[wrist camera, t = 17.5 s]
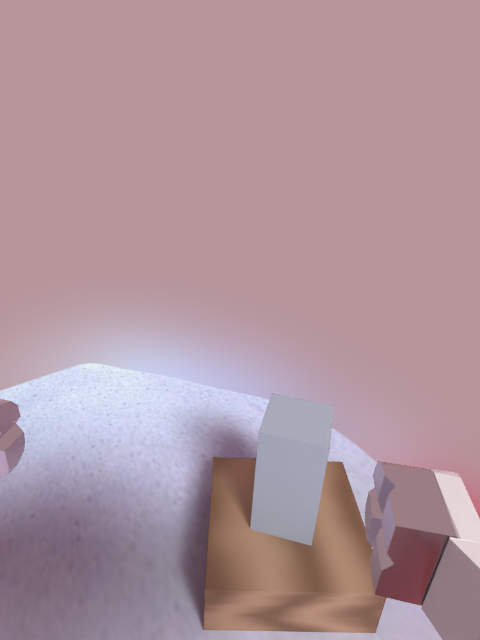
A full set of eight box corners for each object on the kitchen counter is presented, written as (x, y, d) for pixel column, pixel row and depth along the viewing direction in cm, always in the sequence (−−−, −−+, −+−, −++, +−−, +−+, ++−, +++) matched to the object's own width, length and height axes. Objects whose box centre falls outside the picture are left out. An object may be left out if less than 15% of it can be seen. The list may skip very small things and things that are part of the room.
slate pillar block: (250, 528, 33) (258, 431, 29) (262, 483, 37) (272, 393, 33) (311, 545, 32) (329, 447, 28) (317, 496, 36) (333, 405, 32)
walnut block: (203, 632, 30) (204, 589, 28) (211, 494, 42) (213, 457, 40) (374, 636, 31) (387, 593, 29) (334, 498, 42) (342, 462, 41)
